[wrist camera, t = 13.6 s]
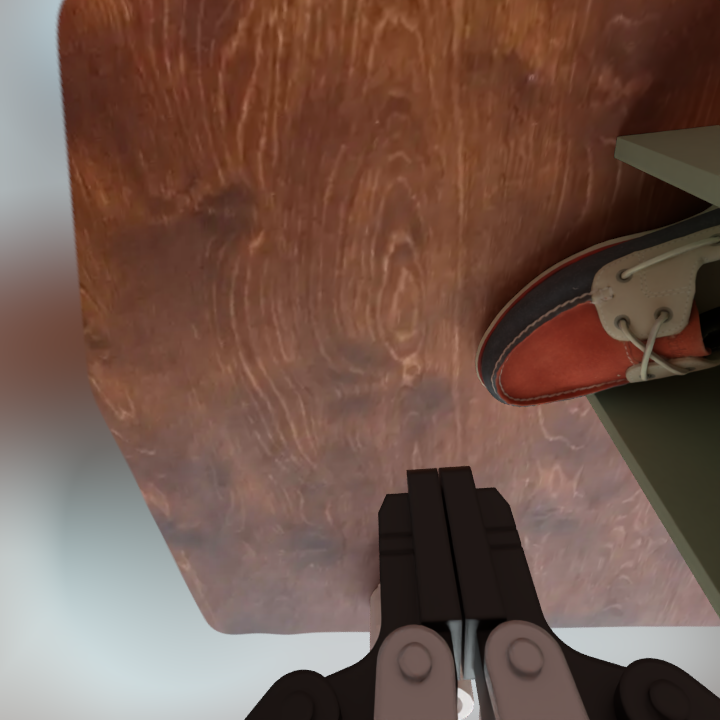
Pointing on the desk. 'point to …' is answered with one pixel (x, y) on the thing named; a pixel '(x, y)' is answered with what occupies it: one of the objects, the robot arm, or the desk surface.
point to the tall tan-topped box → (675, 387)
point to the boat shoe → (610, 317)
